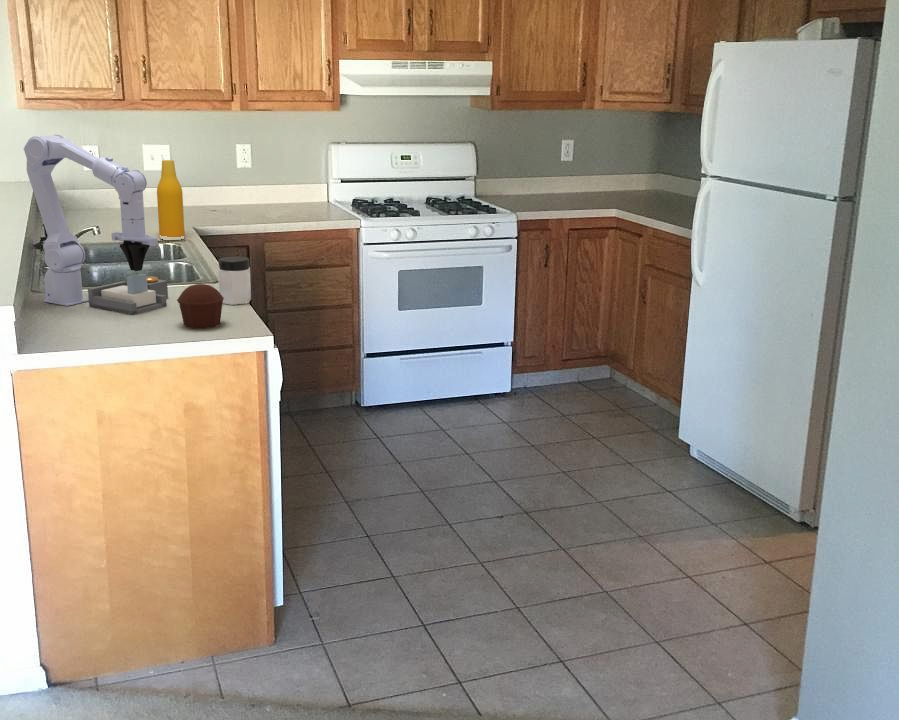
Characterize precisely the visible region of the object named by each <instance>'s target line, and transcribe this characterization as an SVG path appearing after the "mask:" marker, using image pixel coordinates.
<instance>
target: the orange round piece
mask: <svg viewBox="0 0 899 720" xmlns="http://www.w3.org/2000/svg"><path fill="white" fill-rule="evenodd" d="M158 278H159V277H157V276H151V275H149V276H148V275H147V283H153V282H157V281H158Z"/></svg>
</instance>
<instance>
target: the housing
mask: <svg viewBox="0 0 899 720" xmlns="http://www.w3.org/2000/svg"><path fill="white" fill-rule="evenodd" d="M123 285H124V286H127V281H124V280H121V281H117V282H113V283H108V284H103V285H99V286H92V287H89V288H87V294H88V299H89V301H88V306H89V308H92V309H97V310H104V311H108V312H113V313H120V314H124V315H129V316H136V315H140V314H144V313H147V312H151V311H155V310H158V309H163V308H166V307H167V306H168V305H167V300H168V299H169V291H168V280H164V279H158V281H157V282H153V283H147V288H148V290H153V291H155V292H156V303H153V304H149V305H145V306H141V307H136V303H134V302H129V301H123V300H118V299H112V298H107V297H102V294H101V290H105V289H109V288H114V287H118V286H123Z"/></svg>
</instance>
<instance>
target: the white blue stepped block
mask: <svg viewBox="0 0 899 720" xmlns="http://www.w3.org/2000/svg"><path fill="white" fill-rule="evenodd" d="M147 277H148V274H147V273H137V274H132V275H129V276H128V275H127V276H126V282H127V286H124V285H123V286H118V287H114V288H109V289H105V290H101V294H102V297H107V298H112V299H118V300H123V301H129V302H134V303H136V307H141V306H145V305H149V304H153V303H156V292H155V291H153V290H148V288H147Z"/></svg>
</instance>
